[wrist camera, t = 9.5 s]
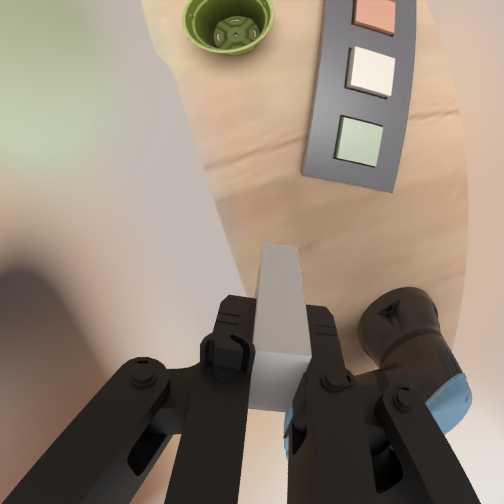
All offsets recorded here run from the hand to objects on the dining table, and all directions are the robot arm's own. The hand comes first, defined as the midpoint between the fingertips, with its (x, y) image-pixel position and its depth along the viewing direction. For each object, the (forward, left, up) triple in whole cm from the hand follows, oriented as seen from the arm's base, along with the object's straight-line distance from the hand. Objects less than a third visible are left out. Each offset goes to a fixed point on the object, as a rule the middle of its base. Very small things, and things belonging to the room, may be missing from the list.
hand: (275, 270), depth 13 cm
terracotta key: (+24, -9, -25) cm, 36 cm away
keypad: (+15, -9, -26) cm, 32 cm away
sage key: (+6, -9, -25) cm, 28 cm away
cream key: (+15, -9, -24) cm, 30 cm away
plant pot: (+18, +7, -27) cm, 33 cm away
